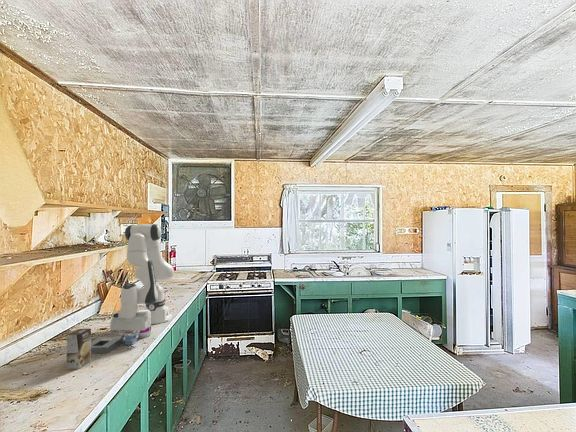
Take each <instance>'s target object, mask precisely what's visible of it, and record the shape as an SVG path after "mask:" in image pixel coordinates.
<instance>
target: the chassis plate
mask: <svg viewBox="0 0 576 432" xmlns="http://www.w3.org/2000/svg"><path fill="white" fill-rule="evenodd" d="M124 339H125V338H120V336H99V337H97V338H95V339H93V340H91V354H109V353H110V352H112V351H113V350H114V349H116V348H117V347H119V346H120V345H121V344H123V343H124V342H125V341H124Z"/></svg>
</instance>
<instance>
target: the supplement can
mask: <svg viewBox="0 0 576 432" xmlns="http://www.w3.org/2000/svg"><path fill="white" fill-rule="evenodd" d="M138 313H145V314H146V315H147V322H148V328H147V329H146V330H140V332H139V335H138V338H137V339H142V338H143V339H144V338H147V337H149V336H150V335H152V324H151V312H150V310H149V309H145V308H144V309H138ZM135 333H137V332H136V331H135Z"/></svg>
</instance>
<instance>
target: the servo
mask: <svg viewBox="0 0 576 432" xmlns="http://www.w3.org/2000/svg"><path fill="white" fill-rule="evenodd" d="M135 334H136V332H129V333H128V334H126V335H125V337H124V338H123V339H124V342H125V343H124V345H127V346H128V345H130V344H132V345H134V344H135V343H136V342H138V338H134V335H135ZM138 335H139V334H138ZM133 343H134V344H133Z"/></svg>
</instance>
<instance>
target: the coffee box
mask: <svg viewBox="0 0 576 432" xmlns="http://www.w3.org/2000/svg"><path fill="white" fill-rule="evenodd" d="M91 342H92V328H78V329H76V330H74V331H71V332H69V333H67V334H66V369H68V370H71V369H72V370H73V369H75V370H76V369H77V370H79V369H81V368H83V367H84V366H86V365H87V364H89V363H90V362H92V353H91Z"/></svg>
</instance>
